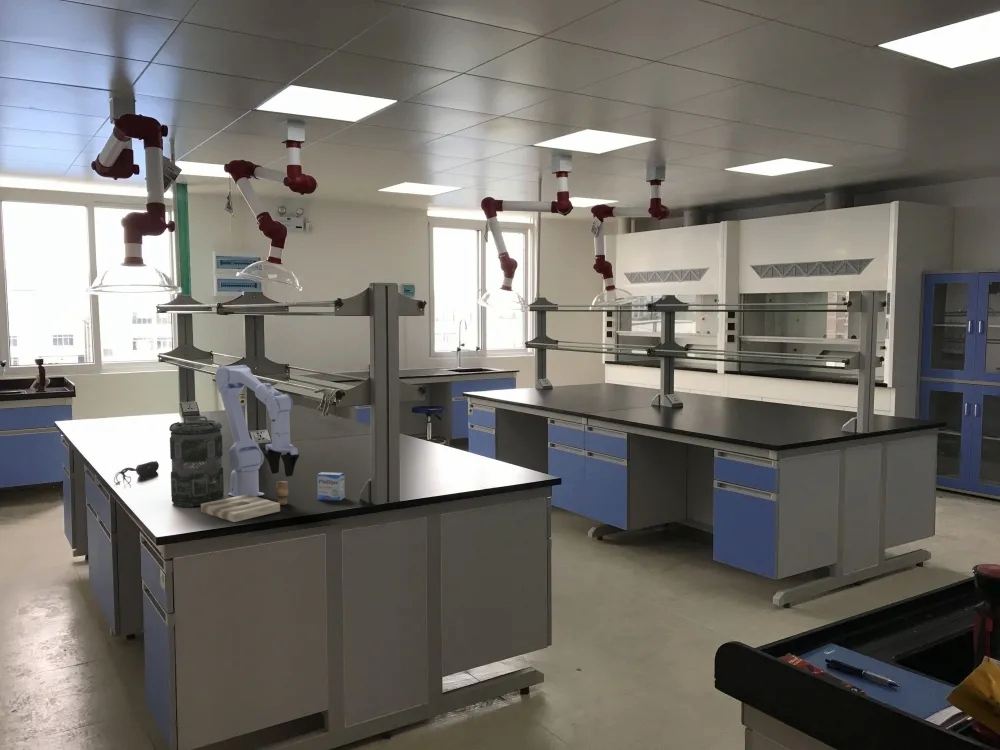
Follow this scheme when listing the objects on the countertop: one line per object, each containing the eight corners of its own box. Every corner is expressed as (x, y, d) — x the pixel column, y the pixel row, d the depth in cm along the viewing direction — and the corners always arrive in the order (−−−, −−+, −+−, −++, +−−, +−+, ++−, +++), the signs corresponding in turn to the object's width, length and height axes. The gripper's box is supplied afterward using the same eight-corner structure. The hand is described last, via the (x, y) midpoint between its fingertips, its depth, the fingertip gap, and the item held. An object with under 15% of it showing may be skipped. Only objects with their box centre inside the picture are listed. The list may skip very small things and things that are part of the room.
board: (201, 511, 240) (200, 503, 239) (246, 501, 252) (246, 494, 252) (234, 522, 228) (233, 513, 228) (280, 511, 241) (279, 503, 241)
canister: (230, 495, 260) (228, 412, 257) (214, 508, 244) (212, 419, 242) (182, 495, 259) (179, 412, 257) (163, 508, 244) (160, 419, 241)
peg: (274, 503, 250) (274, 482, 249) (283, 501, 252) (283, 480, 252) (281, 505, 247) (280, 484, 247) (290, 503, 250) (290, 482, 250)
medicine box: (317, 500, 255) (316, 474, 254) (322, 496, 259) (321, 471, 258) (340, 501, 254) (339, 475, 253) (345, 497, 258) (344, 472, 257)
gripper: (305, 433, 246) (306, 475, 248) (278, 429, 256) (279, 469, 257) (286, 435, 241) (287, 479, 242) (259, 431, 250) (260, 473, 251)
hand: (282, 474), depth 249 cm, fingers open, 7 cm apart
